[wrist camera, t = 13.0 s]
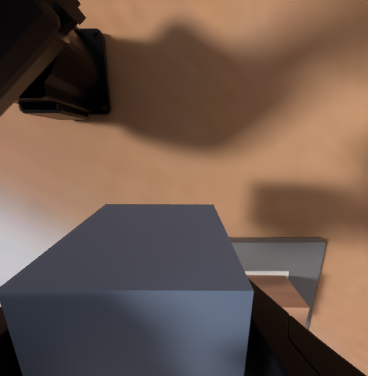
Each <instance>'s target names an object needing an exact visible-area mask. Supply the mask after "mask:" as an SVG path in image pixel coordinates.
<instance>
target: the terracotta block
mask: <svg viewBox="0 0 368 376" xmlns="http://www.w3.org/2000/svg"><path fill="white" fill-rule="evenodd" d="M247 277H248V278H249V279H250V280H251V281H252V282H253V283H255V284H256V285H257V286H258V287H259V288H260V289H261V290H263V291H264V292H265V293H266V294H267V295H268V296H269V297H271V298H272V299H273V300H274V301H275V302H276V303H278V304H279V305H280V306H281V307H282V308H283V309H284V310H286V311H287V312H288V313H289V316H290V315H291V316H293V317H294V318H295V319H296V320H297V321H298V322H299V323H301V324H302V325H303V326H304V327H305V325H306V321H307V316H308V312H309V306H308V305H307V304H306V302H305V301H304V300H303V298H302V297H301V296H300V295H299V293H298V292H297V291H296V289H295V288H294V287H293V285H292V284H291V283H290V281H289V280H288V279H287V277H286V276H284V275H247Z"/></svg>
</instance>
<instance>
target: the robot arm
mask: <svg viewBox="0 0 368 376" xmlns="http://www.w3.org/2000/svg"><path fill="white" fill-rule="evenodd" d="M80 5H81V4H80V3H79V1H78V0H0V117H1V116H2V115H3V114H4V113H5V112H6V110H7V109H8V108H9V107H10V106H11V105H12V104H13V103H17V104H19V109H20V111H22V112H23V113H25V114H30V115H36V116H41V117H47V118H53V119H58V120H87V119H88V118H89V116H88V115H109V114H110V113H111V101H110V91H109V80H108V70H107V59H106V49H105V39H104V35H103V34H102V33H101V31H100V30H98V29H79V28H78V27H77V26H76V25H77V24H79V25H80V24H81V23H82V22H83V21H84V20H85V19H86V17H85V16H84V15H83V13H82V12H81V11H80V9H79V8H78V7H79V6H80ZM97 35H99V39H97V40H96V39H95V38H96V36H97ZM104 106H106V108H107V110H106V111H105V112H104V111H103V107H104ZM248 279H249V278H248ZM249 282H250V284H251V286H252V288H253V290H254V294H253V302H252V311H251V319H250V328H249V336H248V345H247V353H246V361H245V370H244V376H366V375H365V374H364V373H362V372H361V371H360V370H358V369H357V368H356V367H354V366H353V365H352V364H350V363H349V362H348V361H347V360H345V359H344V358H343V357H341V356H340V355H339V354H337V353H336V352H335V351H334V350H332V349H331V348H330V347H329V346H327V345H326V344H325V343H323V342H322V341H321V340H320V339H318V338H317V337H316V336H315V335H314V334H312V333H311V332H310V331H309V330H308V329H307V328H305V327H304V326H303V325H302V324H301V323H299V322H298V321H297V320H296V319H295V318H294V317H293V316H291V315H290V316H289V313H288V312H287V311H286V310H284V309H283V308H282V307H281V306H280V305H279V304H278V303H276V302H275V301H274V300H273V299H272V298H271V297H269V296H268V295H267V294H266V293H265V292H264V291H263V290H261V289H260V288H259V287H258V286H257V285H256V284H255V283H253V282H252V281H251V280H250V279H249ZM0 376H22V372H21V369H20V366H19V362H18V359H17V356H16V353H15V349H14V346H13V343H12V339H11V336H10V333H9V330H8V326H7V323H6V320H5V316H4V313H3V310H2V307H0Z"/></svg>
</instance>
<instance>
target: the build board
mask: <svg viewBox="0 0 368 376" xmlns="http://www.w3.org/2000/svg"><path fill="white" fill-rule="evenodd" d="M229 239H230V241H231V243H232V245H233V248H234V250H235V252H236V254H237V256H238V258H239V260H240V262H241V265H242V267H243V269H244V271H245V273H246V275H284V276H286V277H287V279H288V280H289V281H290V283H291V284H292V285H293V287H294V288H295V289H296V291H297V292H298V293H299V295H300V296H301V297H302V298H303V300H304V301H305V302H306V304H307V305H308V306H309V312H308V316H307V321H306V325H305V328H307V329H308V324H309V320H310V315H311V311H312V306H313V302H314V297H315V292H316V288H317V283H318V279H319V274H320V270H321V265H322V261H323V256H324V252H325V247H326V243H327V242H325V241H324V240H322V239H321V238H229Z"/></svg>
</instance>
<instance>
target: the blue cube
mask: <svg viewBox="0 0 368 376" xmlns="http://www.w3.org/2000/svg"><path fill="white" fill-rule="evenodd" d="M253 294H254V290H253V288H252V286H251V284H250V282H249V279H248V277H247V275H246V273H245V271H244V269H243V267H242V265H241V262H240V260H239V258H238V256H237V254H236V252H235V250H234V248H233V245H232V243H231V241H230V239H229V237H228V235H227V233H226V231H225V228H224V226H223V224H222V222H221V220H220V218H219V216H218V214H217V211H216V209H215V207H214V205H170V204H105V205H104V206H103V207H102V208H100V209H99V210H98V211H96V212H95V213H94V214H93V215H91V216H90V217H89V218H88V219H86V220H85V221H84V222H82V223H81V224H80V225H79V226H77V227H76V228H75V229H74V230H72V231H71V232H70V233H68V234H67V235H66V236H65V237H63V238H62V239H61V240H60V241H58V242H57V243H56V244H54V245H53V246H52V247H51V248H49V249H48V250H47V251H46V252H44V253H43V254H42V255H40V256H39V257H38V258H37V259H35V260H34V261H33V262H31V263H30V264H29V265H28V266H26V267H25V268H24V269H23V270H21V271H20V272H19V273H17V274H16V275H15V276H14V277H12V278H11V279H10V280H9V281H7V282H6V283H5V284H3V285H2V286H1V287H0V303H1V307H2V310H3V313H4V316H5V320H6V323H7V326H8V330H9V333H10V336H11V339H12V343H13V346H14V349H15V353H16V356H17V359H18V362H19V366H20V369H21V372H22V376H244V370H245V361H246V353H247V345H248V336H249V328H250V319H251V311H252V302H253Z"/></svg>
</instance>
